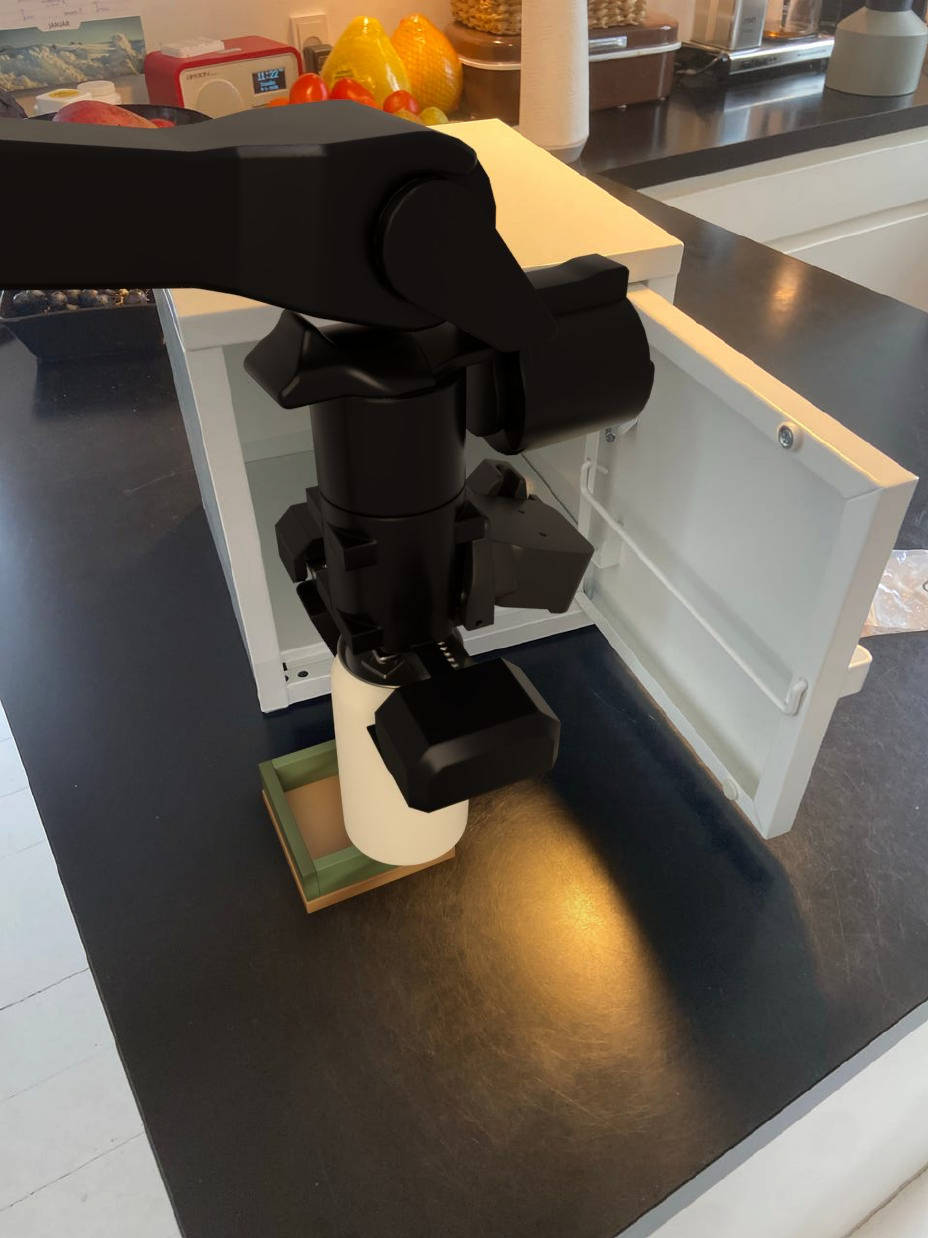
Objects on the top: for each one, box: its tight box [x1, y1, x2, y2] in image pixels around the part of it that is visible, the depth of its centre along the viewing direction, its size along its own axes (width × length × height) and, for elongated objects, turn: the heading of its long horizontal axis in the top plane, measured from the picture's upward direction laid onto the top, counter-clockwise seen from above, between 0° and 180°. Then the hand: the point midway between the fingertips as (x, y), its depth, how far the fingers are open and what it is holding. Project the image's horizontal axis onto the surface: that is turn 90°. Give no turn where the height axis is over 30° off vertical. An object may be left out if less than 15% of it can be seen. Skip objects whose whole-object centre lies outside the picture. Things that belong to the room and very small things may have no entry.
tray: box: [257, 738, 456, 914], centre depth 56 cm, size 9×9×4 cm
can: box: [330, 627, 470, 866], centre depth 44 cm, size 6×6×12 cm
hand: (406, 757), depth 45 cm, fingers closed on can, 6 cm apart
